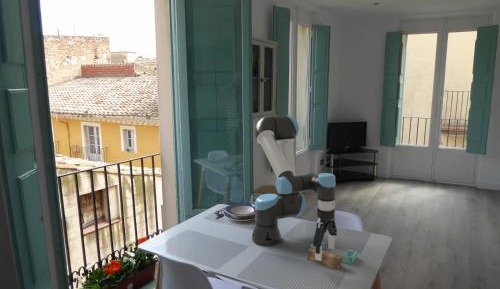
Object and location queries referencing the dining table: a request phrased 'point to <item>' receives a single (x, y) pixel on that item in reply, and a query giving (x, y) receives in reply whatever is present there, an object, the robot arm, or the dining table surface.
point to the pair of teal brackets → (345, 259)
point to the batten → (326, 258)
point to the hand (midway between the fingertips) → (325, 254)
